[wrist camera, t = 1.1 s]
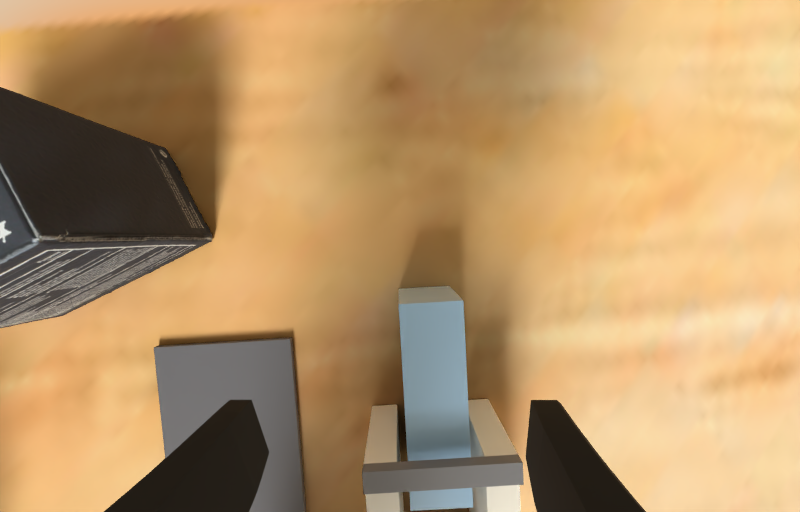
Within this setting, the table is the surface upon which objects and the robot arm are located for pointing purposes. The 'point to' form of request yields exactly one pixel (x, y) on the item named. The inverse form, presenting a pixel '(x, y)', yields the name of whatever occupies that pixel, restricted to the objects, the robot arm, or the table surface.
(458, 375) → the slab
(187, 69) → the table surface
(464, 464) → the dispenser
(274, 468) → the mat
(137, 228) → the small box
